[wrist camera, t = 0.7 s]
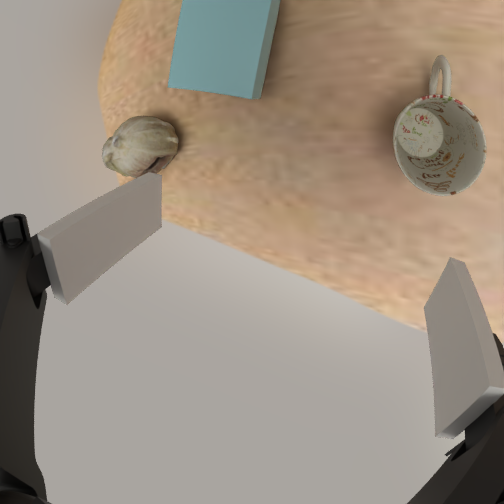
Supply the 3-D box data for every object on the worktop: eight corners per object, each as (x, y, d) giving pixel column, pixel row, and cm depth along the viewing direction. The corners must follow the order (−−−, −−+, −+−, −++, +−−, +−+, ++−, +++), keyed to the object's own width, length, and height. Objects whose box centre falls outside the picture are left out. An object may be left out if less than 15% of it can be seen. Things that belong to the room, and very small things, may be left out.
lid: (200, -16, 23) (188, -22, 21) (283, -13, 21) (276, -22, 19) (181, 86, 29) (167, 87, 27) (260, 98, 28) (251, 99, 26)
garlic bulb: (150, 155, 43) (92, 178, 36) (150, 101, 37) (85, 119, 31) (192, 177, 39) (128, 206, 33) (195, 115, 33) (122, 137, 27)
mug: (379, 161, 31) (386, 185, 23) (388, 52, 25) (400, 34, 17) (447, 176, 29) (475, 205, 21) (460, 70, 23) (495, 62, 14)
